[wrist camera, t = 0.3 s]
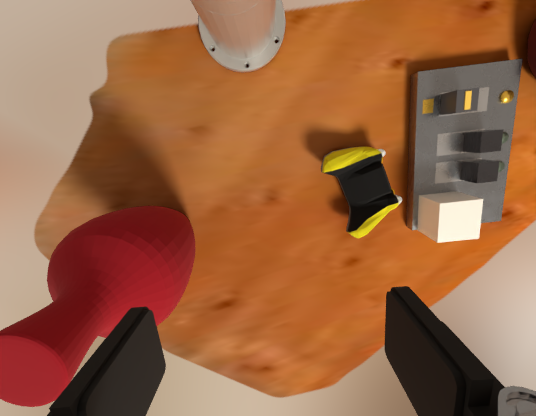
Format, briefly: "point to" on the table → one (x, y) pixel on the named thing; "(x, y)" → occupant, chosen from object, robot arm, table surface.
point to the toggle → (459, 101)
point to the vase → (95, 296)
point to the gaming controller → (362, 186)
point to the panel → (462, 136)
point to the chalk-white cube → (449, 216)
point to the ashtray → (532, 49)
